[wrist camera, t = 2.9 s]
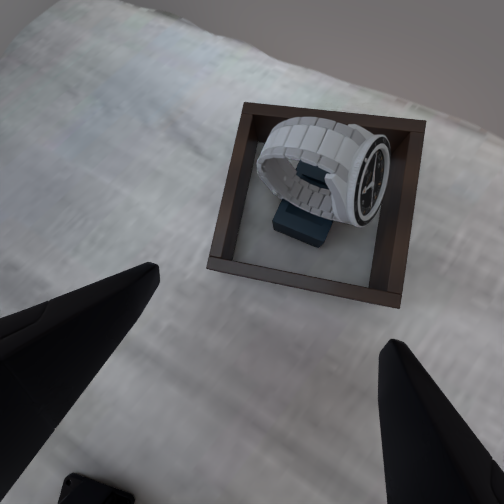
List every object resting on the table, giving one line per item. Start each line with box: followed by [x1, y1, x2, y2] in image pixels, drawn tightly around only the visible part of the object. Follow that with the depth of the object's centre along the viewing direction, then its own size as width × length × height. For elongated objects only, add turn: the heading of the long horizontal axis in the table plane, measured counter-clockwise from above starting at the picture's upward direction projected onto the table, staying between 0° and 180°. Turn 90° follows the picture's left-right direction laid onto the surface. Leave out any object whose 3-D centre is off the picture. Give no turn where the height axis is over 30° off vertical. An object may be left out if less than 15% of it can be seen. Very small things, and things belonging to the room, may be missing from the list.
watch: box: [256, 117, 391, 248], centre depth 17 cm, size 6×8×11 cm
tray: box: [206, 102, 426, 309], centre depth 21 cm, size 14×14×4 cm
